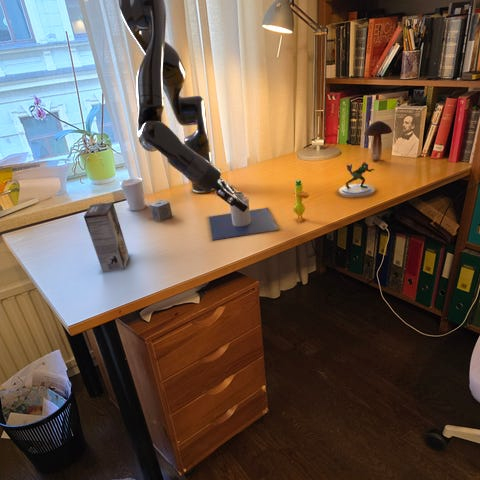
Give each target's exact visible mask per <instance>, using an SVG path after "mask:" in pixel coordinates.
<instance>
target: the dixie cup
mask: <svg viewBox="0 0 480 480" xmlns="http://www.w3.org/2000/svg"><path fill="white" fill-rule="evenodd" d="M119 185H120V187H121V189H122V193H123V195H124V197H125V199H126V202H127V204H128V207H129V209H130V211H140V210H143V209H145V208H146V201H145V193H144V185H143V178H141V177H132V178H127V179H124V180H121V181H119Z"/></svg>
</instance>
